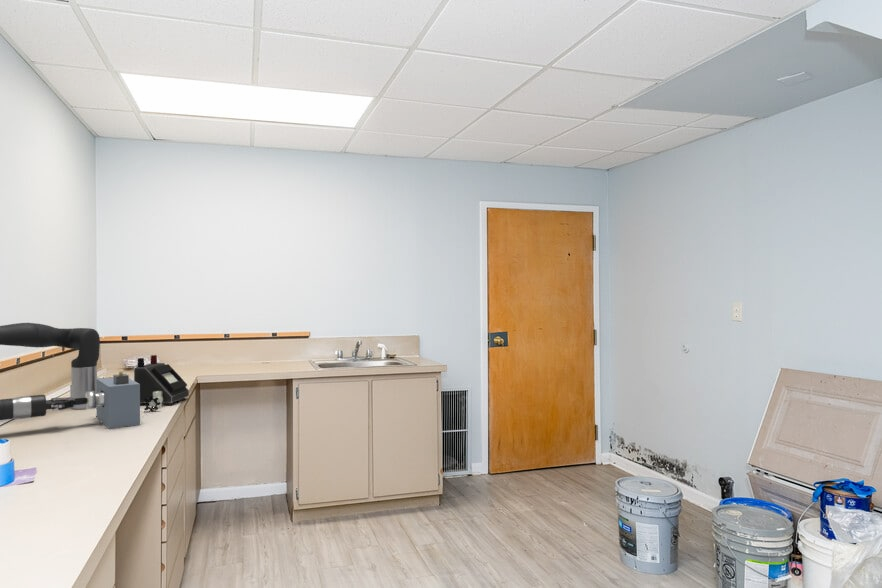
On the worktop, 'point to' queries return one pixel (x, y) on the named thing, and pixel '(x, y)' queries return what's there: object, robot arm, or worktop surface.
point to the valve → (154, 401)
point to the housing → (118, 403)
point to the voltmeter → (159, 381)
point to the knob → (94, 399)
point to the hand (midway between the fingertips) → (86, 400)
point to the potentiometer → (121, 378)
